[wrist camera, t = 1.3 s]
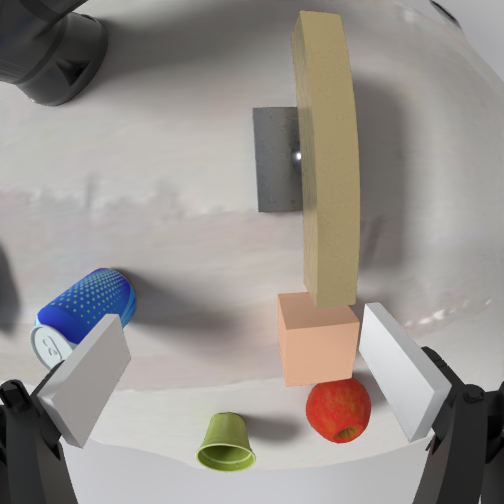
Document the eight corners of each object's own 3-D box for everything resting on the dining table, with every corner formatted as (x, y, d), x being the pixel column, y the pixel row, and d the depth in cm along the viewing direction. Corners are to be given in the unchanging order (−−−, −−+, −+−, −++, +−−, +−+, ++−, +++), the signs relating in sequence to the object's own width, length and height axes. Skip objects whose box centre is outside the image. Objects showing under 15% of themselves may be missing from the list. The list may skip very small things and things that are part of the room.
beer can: (145, 279, 36) (89, 342, 20) (133, 327, 38) (86, 399, 22) (94, 256, 35) (21, 302, 19) (86, 305, 37) (26, 362, 21)
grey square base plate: (252, 111, 30) (252, 107, 28) (349, 113, 30) (355, 109, 28) (258, 210, 34) (258, 212, 31) (353, 206, 34) (360, 208, 31)
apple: (362, 400, 42) (381, 442, 32) (307, 417, 43) (317, 462, 33) (359, 360, 40) (382, 404, 30) (296, 380, 41) (307, 429, 30)
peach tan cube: (277, 294, 36) (286, 329, 28) (336, 289, 36) (360, 321, 28) (278, 345, 39) (285, 386, 30) (333, 339, 39) (351, 378, 30)
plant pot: (215, 398, 41) (210, 437, 33) (264, 416, 43) (267, 454, 34) (193, 425, 43) (186, 461, 35) (239, 441, 45) (238, 476, 36)
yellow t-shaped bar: (286, 52, 26) (299, 10, 17) (316, 54, 26) (340, 14, 17) (297, 270, 33) (316, 308, 23) (327, 268, 33) (355, 304, 23)
